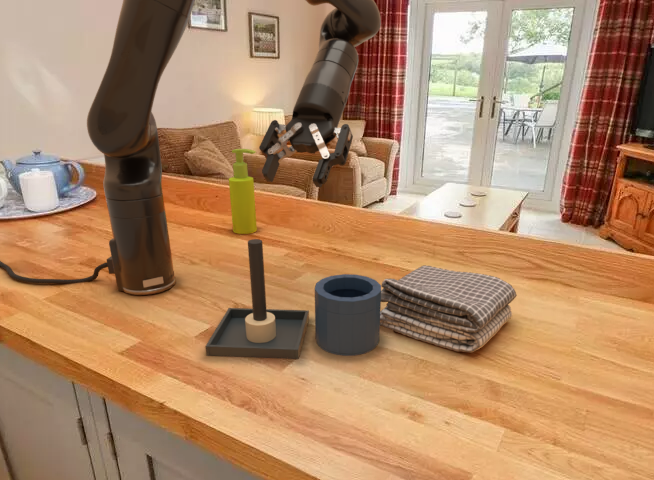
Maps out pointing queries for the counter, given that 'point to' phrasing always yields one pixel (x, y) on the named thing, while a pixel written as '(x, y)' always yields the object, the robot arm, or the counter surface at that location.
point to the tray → (235, 343)
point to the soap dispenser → (242, 196)
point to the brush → (258, 298)
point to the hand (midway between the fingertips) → (291, 181)
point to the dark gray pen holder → (347, 314)
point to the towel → (447, 307)
